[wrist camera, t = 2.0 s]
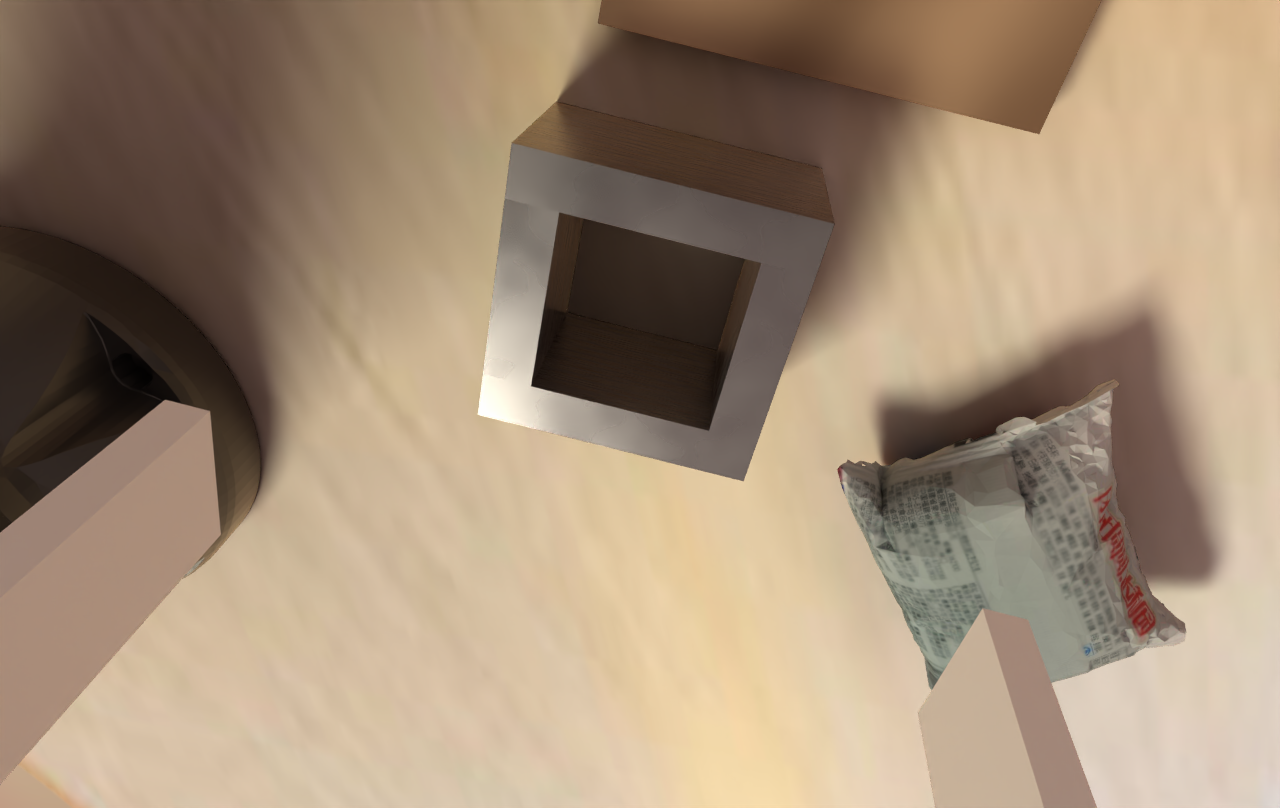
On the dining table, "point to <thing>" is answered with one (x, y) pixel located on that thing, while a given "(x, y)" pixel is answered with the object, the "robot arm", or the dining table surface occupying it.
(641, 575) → the dining table surface
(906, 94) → the stand
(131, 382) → the robot arm
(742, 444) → the link
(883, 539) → the packaged food
